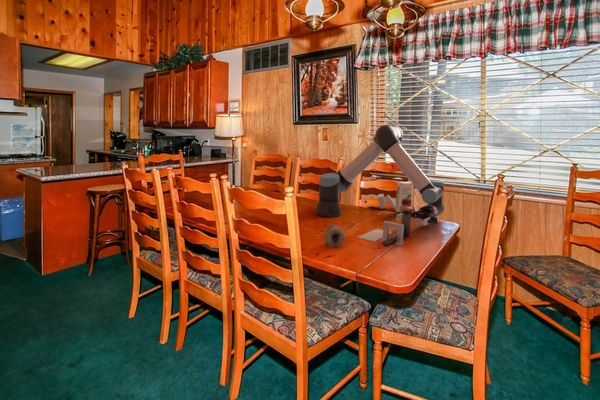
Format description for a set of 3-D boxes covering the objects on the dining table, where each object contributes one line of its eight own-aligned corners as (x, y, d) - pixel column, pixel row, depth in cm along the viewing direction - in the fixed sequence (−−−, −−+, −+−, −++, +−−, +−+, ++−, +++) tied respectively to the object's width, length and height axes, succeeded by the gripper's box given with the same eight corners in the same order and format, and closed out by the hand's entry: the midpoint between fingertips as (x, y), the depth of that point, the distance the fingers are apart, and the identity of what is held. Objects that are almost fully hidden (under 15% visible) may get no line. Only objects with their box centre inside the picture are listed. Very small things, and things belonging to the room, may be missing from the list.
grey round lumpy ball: (324, 249, 169) (317, 228, 169) (338, 243, 173) (332, 222, 173) (336, 249, 161) (329, 227, 160) (351, 242, 165) (344, 221, 165)
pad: (357, 237, 178) (357, 237, 178) (376, 229, 192) (376, 229, 192) (374, 241, 173) (374, 241, 173) (392, 233, 186) (392, 232, 186)
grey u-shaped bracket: (380, 241, 173) (381, 222, 172) (385, 239, 177) (386, 220, 175) (399, 245, 167) (400, 226, 166) (404, 243, 171) (405, 224, 169)
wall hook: (397, 209, 235) (394, 193, 233) (381, 212, 237) (377, 196, 236) (397, 206, 242) (394, 191, 241) (380, 209, 245) (377, 194, 243)
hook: (378, 244, 169) (379, 213, 166) (401, 233, 187) (403, 205, 184) (392, 247, 165) (394, 216, 162) (415, 235, 182) (417, 207, 179)
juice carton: (394, 212, 230) (396, 181, 226) (407, 211, 231) (410, 181, 227) (398, 215, 222) (400, 183, 219) (412, 214, 223) (415, 183, 219)
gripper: (451, 223, 191) (435, 232, 175) (404, 215, 207) (386, 223, 191) (452, 209, 190) (436, 217, 174) (405, 202, 205) (387, 208, 189)
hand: (410, 220), depth 182 cm, fingers open, 13 cm apart
